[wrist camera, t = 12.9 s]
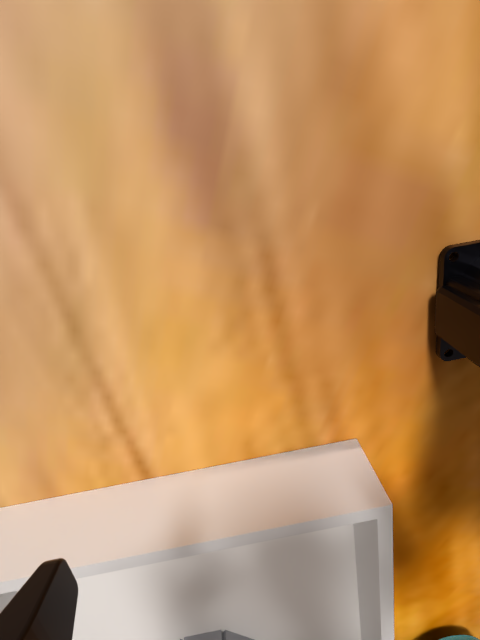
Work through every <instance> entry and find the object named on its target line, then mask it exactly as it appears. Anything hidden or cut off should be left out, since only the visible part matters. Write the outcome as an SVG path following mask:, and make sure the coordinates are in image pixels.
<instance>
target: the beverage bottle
mask: <svg viewBox="0 0 480 640" xmlns="http://www.w3.org/2000/svg"><path fill="white" fill-rule="evenodd" d="M439 640H479V639H478V638H476V637H473V636H469V635H454V636H449V637H445V638H442V639H439Z"/></svg>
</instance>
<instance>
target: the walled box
mask: <svg viewBox="0 0 480 640" xmlns="http://www.w3.org/2000/svg"><path fill="white" fill-rule="evenodd" d="M58 558H63V559H65V560H66V561H67V563H68V565H69V567H70V569H71V571H72V573H73V575H74V577H75V579H76V581H77V584H78V599H77V607H76V614H75V622H74V629H73V637H72V640H394V581H393V505H392V503H391V501H390V499H389V497H388V495H387V494H386V492H385V490H384V488H383V486H382V484H381V483H380V481H379V479H378V477H377V475H376V473H375V472H374V470H373V468H372V466H371V464H370V462H369V461H368V459H367V457H366V455H365V453H364V451H363V450H362V448H361V446H360V444H359V442H358V441H357V439H351V440H346V441H341V442H336V443H331V444H326V445H321V446H316V447H310V448H305V449H300V450H295V451H290V452H285V453H280V454H274V455H269V456H264V457H259V458H254V459H249V460H244V461H239V462H233V463H228V464H223V465H218V466H213V467H208V468H203V469H197V470H192V471H187V472H182V473H177V474H172V475H167V476H161V477H156V478H151V479H146V480H141V481H136V482H131V483H126V484H120V485H115V486H110V487H105V488H100V489H95V490H90V491H84V492H79V493H74V494H69V495H64V496H59V497H54V498H48V499H43V500H38V501H33V502H28V503H23V504H18V505H13V506H7V507H2V508H0V613H1V612H2V610H3V609H4V608H5V607H6V606H7V604H8V603H9V602H10V601H11V599H12V598H13V597H14V596H15V595H16V593H17V592H18V591H19V590H20V589H21V587H22V586H23V585H24V584H25V583H26V581H27V580H28V579H29V578H30V576H31V575H32V574H33V573H34V572H35V570H36V569H37V568H38V567H39V566H40V565H41V564H42V563H43V562H45V561H48V560H53V559H58Z"/></svg>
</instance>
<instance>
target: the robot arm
mask: <svg viewBox="0 0 480 640" xmlns="http://www.w3.org/2000/svg"><path fill="white" fill-rule="evenodd" d="M453 252H454V257H453V258H452V259H450V260H449V256H450V254H451V253H453ZM435 334H437V340H436V354H437V355H438V357H440V358H441V359H442V360H444V361H451V360H456V359H461V358H466V357H467V358H468V359H469V360H471V361H472V362H473V363H475V364H476V365H477V366H479V367H480V240H476V241H471V242H465V243H460V244H455V245H450V246H447V247H445V248H444V249H443V250H442V252H441V254H440V264H439V288H438V290H437V291H436V309H435ZM448 349H449V351H448V352H447V353H445V351H446V350H448ZM444 353H445V354H444ZM77 599H78V584H77V581H76V579H75V577H74V575H73V573H72V571H71V569H70V567H69V565H68V563H67V561H66V560H65V559H63V558H58V559H53V560H48V561H45V562H43V563H42V564H41V565H40V566H39V567H38V568H37V569H36V570H35V572H34V573H33V574H32V575H31V576H30V578H29V579H28V580H27V581H26V583H25V584H24V585H23V586H22V587H21V589H20V590H19V591H18V592H17V593H16V595H15V596H14V597H13V598H12V599H11V601H10V602H9V603H8V604H7V606H6V607H5V608H4V609H3V610H2V612H1V613H0V640H72V637H73V629H74V622H75V614H76V607H77Z"/></svg>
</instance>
